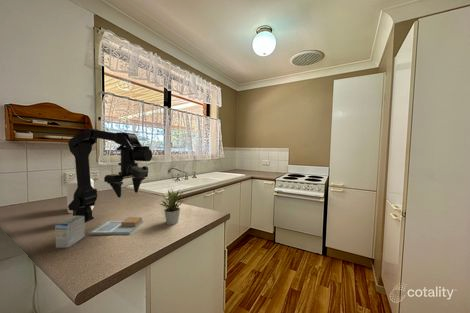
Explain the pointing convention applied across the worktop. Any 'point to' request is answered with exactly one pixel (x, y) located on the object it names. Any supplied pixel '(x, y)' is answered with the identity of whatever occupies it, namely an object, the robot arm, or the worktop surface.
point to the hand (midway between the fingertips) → (128, 194)
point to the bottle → (71, 189)
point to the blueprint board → (118, 227)
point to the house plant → (172, 207)
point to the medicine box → (69, 231)
